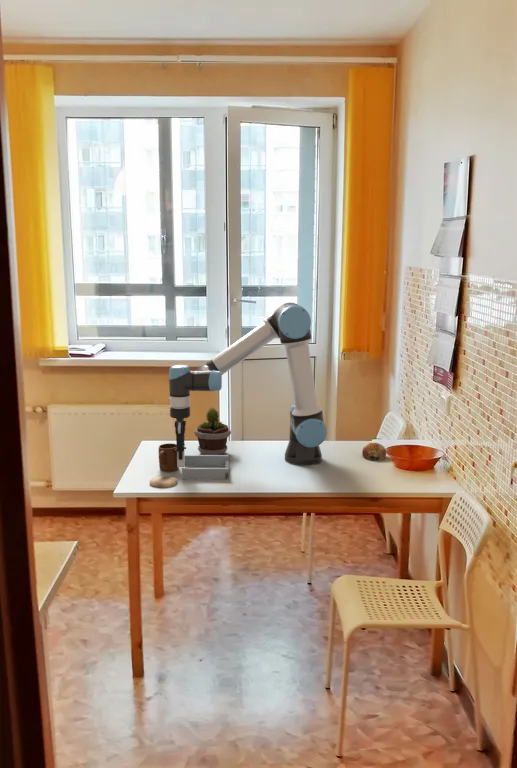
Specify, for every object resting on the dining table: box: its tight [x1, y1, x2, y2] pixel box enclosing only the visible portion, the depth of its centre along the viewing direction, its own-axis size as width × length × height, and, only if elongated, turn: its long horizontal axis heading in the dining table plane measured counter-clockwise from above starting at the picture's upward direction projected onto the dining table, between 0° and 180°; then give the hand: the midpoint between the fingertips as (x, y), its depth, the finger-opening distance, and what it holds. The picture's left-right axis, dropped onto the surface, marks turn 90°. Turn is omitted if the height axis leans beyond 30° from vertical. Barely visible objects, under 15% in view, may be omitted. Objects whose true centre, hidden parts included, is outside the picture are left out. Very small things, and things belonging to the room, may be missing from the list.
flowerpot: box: [194, 406, 232, 455], centre depth 274 cm, size 14×15×20 cm
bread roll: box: [361, 442, 387, 461], centre depth 275 cm, size 10×10×8 cm
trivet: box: [149, 475, 178, 489], centre depth 240 cm, size 10×10×1 cm
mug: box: [158, 443, 180, 473], centre depth 252 cm, size 12×8×9 cm, turn 165°
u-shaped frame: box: [181, 454, 230, 480], centre depth 253 cm, size 17×17×4 cm
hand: (180, 466), depth 252 cm, fingers closed
